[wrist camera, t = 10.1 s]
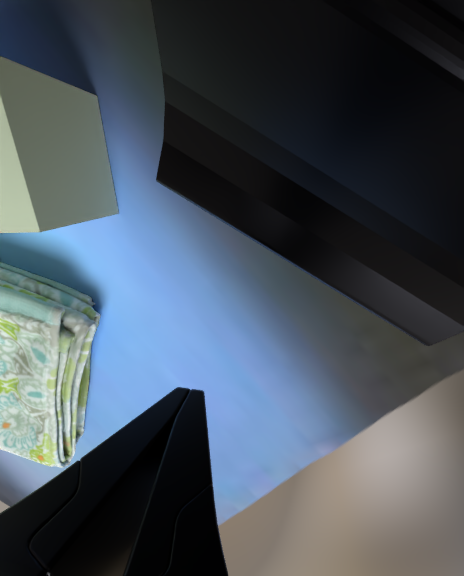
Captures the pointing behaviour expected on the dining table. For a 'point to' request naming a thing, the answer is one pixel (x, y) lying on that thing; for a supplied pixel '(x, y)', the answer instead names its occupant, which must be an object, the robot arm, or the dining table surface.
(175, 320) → the dining table surface
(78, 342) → the towel
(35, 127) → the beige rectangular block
